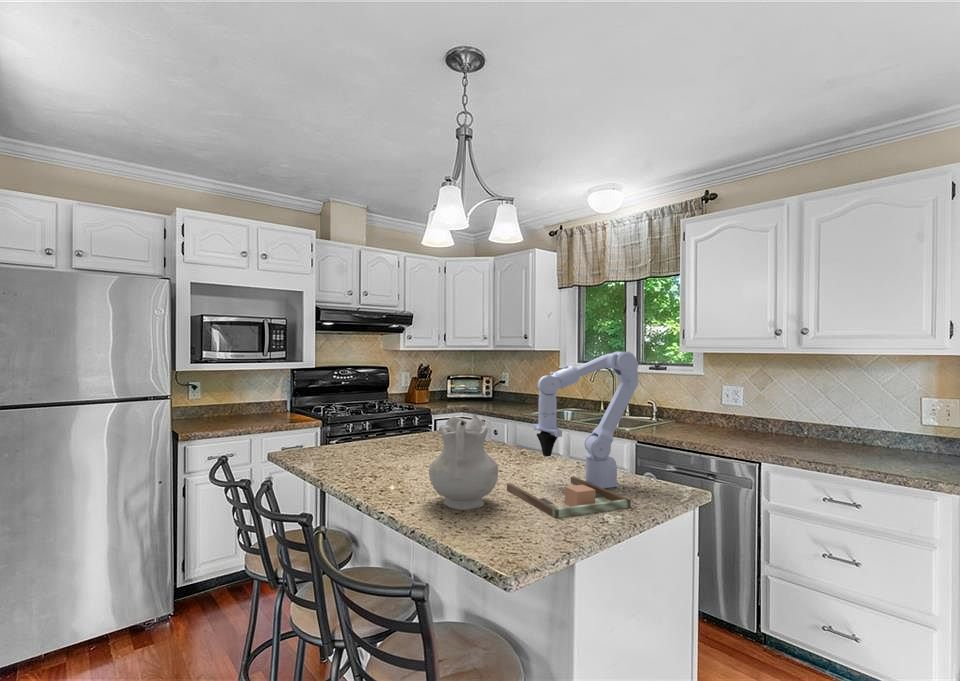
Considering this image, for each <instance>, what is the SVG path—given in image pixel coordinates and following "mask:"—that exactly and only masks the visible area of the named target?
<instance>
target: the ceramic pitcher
mask: <svg viewBox="0 0 960 681" xmlns="http://www.w3.org/2000/svg"><path fill="white" fill-rule="evenodd" d="M484 420H485V418H483V417H482V416H481V415H477V414H473V415H472V418H471V419H470V420H469V421H468V420H465V419H464V418H462V417H458V416H455V415H453V416H451V417H450V418H448V419H447V421H446V422H445V424H444V425H439V428H438V429H439V433H440V435H441V436H442V441H443V447H442V450H441V452H440V453H439V454H438V455H437V456H436V457H435V458H434V459H432V461H431V463H430V466H429V468H428V475H429V480H430V483H431V486H432V488H433V489H434V490H435V491H436V493H437V495H439V496H442V497H444V498H445V499H444V500H443V501H442V503H441V504H442V505H444V506H445V507H448V508H450V509H453V510H463V511H464V510H466V511H471V510H475V509H479V508H482V507H484V505H485V501H484V499H483V498H484V497H486V496H488V495H489V494H491V493H492V491H493V490H494V489H495V487H496V484H497V482H498V479H499V478H498V477H499V467H498V463H497V461H496V459H494V458H493V457H491V455H489V454H488V453H487V451H486V450H485V440H486V438H487V434H488V432H489V430H490V428H489V427H488V425H486V423H485V421H484Z"/></svg>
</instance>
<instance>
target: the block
mask: <svg viewBox="0 0 960 681" xmlns="http://www.w3.org/2000/svg"><path fill="white" fill-rule="evenodd" d="M593 503H596V501H595V490H594V489H592V488H590V487H587V486H585V485H574V484H573V485H567V486H564V504H565V505H567V507H571V506H578V505H586V504H593Z"/></svg>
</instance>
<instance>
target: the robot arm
mask: <svg viewBox="0 0 960 681" xmlns="http://www.w3.org/2000/svg"><path fill="white" fill-rule="evenodd" d="M638 368H639V362H638V360H637V357H636V356H635V355H634V354H633V353H632V352H630V351H627V350H626V351H619V350H616V351H614V352H611V353H607V354H603V355H601V356H598V357H596V358H594V359H592V360H590V361H587V362H586V363H583V364H581V365H579V366H577V367H576V366H573V365H569V366H568V365H564V366H563V368H562V369H561V368H560V369H559V370H557V371H550V372H549V375H543V376H541V377H540V378H539V379H538V382H537V384H536V387H537V388H538V390H539V391H538V417H537V418H538V423H533V430H534V431H539V432H540V433H536V437H537V439H538V442H539V443H540V447H541V452H542V456H543V457H545V458H547V457H551V456H552V454H553V449H554V446H555V443H556V442H557V439H558V438H561V437H563V430H561V429H559V428H558V427H557V408H558V407H557V402H558V401H557V392H558V391H559V390H562V389H564V388H567V387H569V386H572V385H574V384H577V383H578V382H579V381H580V378H581V377H583V376H586V375H588V374H591V373H593V372H596V371H599V370H601V369H612V370H613V371H614V373H616V376H617V377H618V381H619V384H618V386H617V388H616V390H615V392H614V394H613V395H612V398H611V400H610V403H608V405H607V408H606V410H605V412H604V414H603V415H602V417H601V419H600V422H599V424H598V425H597V426H596V427H595V428H594V429H593V430H592V432H591V434H590V435H588V436H587V437H586V438H585V440H584V447H585V448H584V449H585V450H586V451H587V452H586V454H585V481H586V482H589V483H591V484H593V485H596V486H598V487H600V488H603V489H608V488H617V487H619V484H617V483H618V477H617V476H618V465H617V461H616V460H615V458H614V457H612V456H610V455H611V454H610V453H611V452H612V451H611V450H612V443H613V441H614V432H615V430H616V428H617V427H618V425H619V423H620V422H621V419H622V417H623V415H624V413H625V411H626V408H627V407H628V404H629V403H630V401H631V399H632V396H634V393H635V391H636V389H637V387H638V384H639V375H638V374H639V372H638Z"/></svg>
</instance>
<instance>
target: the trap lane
mask: <svg viewBox="0 0 960 681" xmlns="http://www.w3.org/2000/svg"><path fill="white" fill-rule="evenodd" d="M570 484H573V486H574V485H585V486H587V487H590V488H592V489H594V490H595V503H593V504H586V505H578V506H571V507H570V506H564V507H559V506H558V505H556V504H554V503H553V501H550V500H548V499H547V498H545V497H542V498H538V497H537V496H535V495H533V494H532V493H530V492H527V491H525V490H524V489H522V488H520V487H519V486H517V485H515V484H513V483H511V482H507V483H506V491H508V492H509V493H512V494H513V495H515V496H516V497H518V498H520V499H522V500H523V501H525V502H526V503H528V504H530V505H532V506H533V507H535V508H537V509H539V510H540V511H542V512H544V513H546V514H547V515H549V516H551V517H552V518H554V519H557V518H565V517H572V516H579V515H580V516H581V515H586V513H587V514H593V512H594V513H600V511H601V512H607V511H613V510H614V511H615V510H621V509H629V508H631V503H632V502H631V499H629V498H626V497H624V496H622V495H619V494H617V493H615V492H612V491H610V490H607V489H606V488H600V487H598V486H596V485H593V484H591V483H589V482H586V480H584V479H581V478H579V477H578V476H577V477H576V476H570Z"/></svg>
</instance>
